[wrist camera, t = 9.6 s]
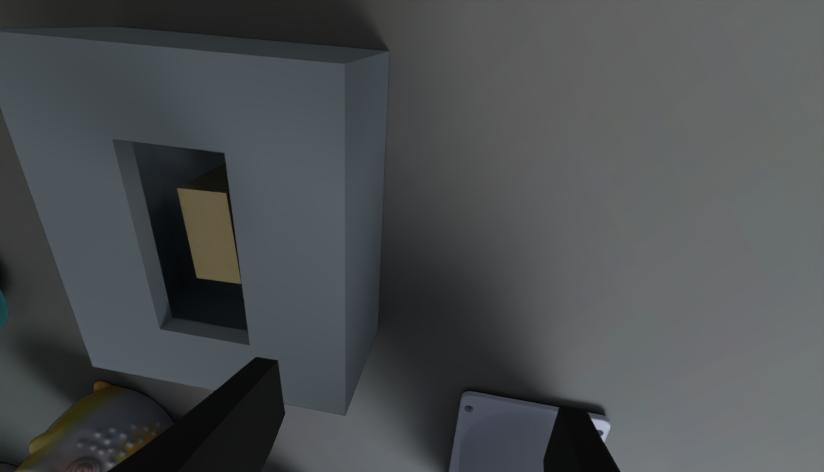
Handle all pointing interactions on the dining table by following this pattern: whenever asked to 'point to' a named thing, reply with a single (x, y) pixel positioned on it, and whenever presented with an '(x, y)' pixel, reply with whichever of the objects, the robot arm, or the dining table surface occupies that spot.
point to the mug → (97, 432)
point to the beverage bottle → (3, 310)
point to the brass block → (211, 226)
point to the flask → (7, 467)
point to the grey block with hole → (249, 192)
